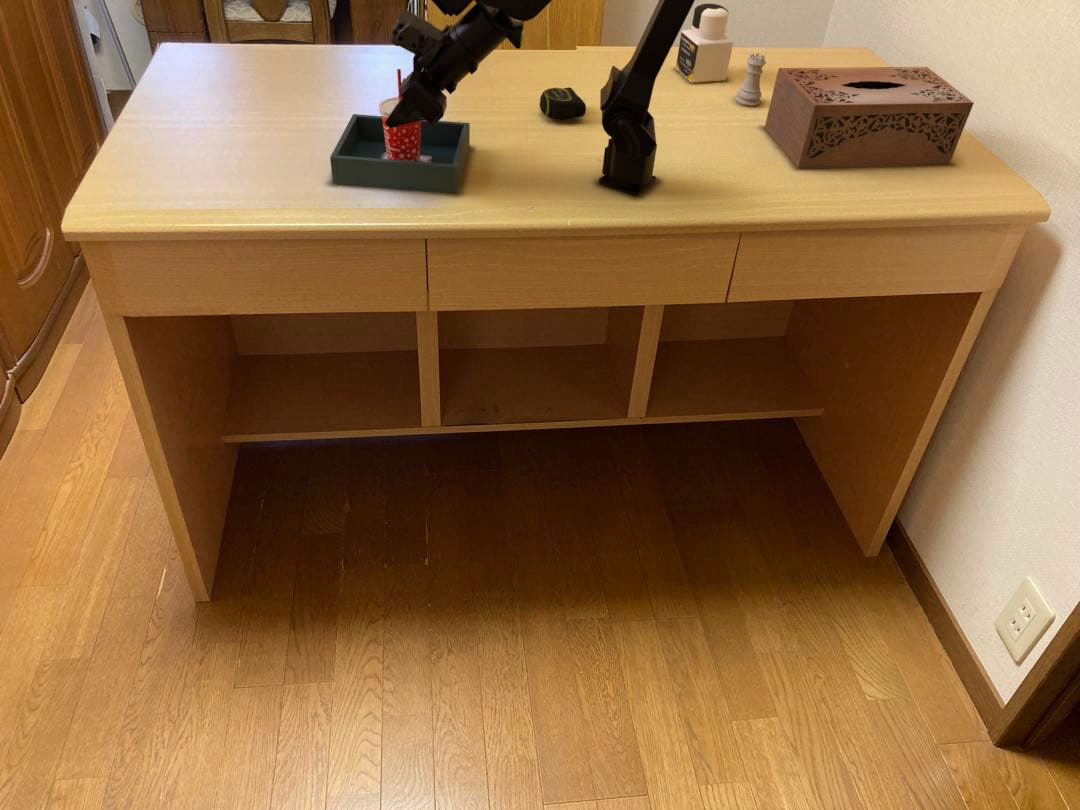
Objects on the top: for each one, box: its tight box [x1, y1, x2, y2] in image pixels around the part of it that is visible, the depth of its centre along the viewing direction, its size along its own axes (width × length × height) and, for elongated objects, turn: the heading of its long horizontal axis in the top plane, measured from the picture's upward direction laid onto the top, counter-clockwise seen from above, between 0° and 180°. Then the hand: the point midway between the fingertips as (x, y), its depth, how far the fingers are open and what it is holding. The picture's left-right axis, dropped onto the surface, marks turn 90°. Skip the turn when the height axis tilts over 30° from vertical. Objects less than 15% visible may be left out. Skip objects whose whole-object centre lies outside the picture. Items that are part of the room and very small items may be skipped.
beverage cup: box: [378, 68, 421, 162], centre depth 122 cm, size 6×6×14 cm
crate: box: [329, 113, 471, 194], centre depth 126 cm, size 18×15×4 cm
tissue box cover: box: [764, 66, 975, 170], centre depth 137 cm, size 26×14×10 cm, turn 100°
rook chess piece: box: [735, 53, 767, 107], centre depth 149 cm, size 4×4×8 cm
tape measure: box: [539, 86, 587, 121], centre depth 142 cm, size 7×7×4 cm
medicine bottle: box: [675, 3, 734, 84], centre depth 156 cm, size 7×7×12 cm
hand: (391, 115), depth 122 cm, fingers closed on beverage cup, 6 cm apart
